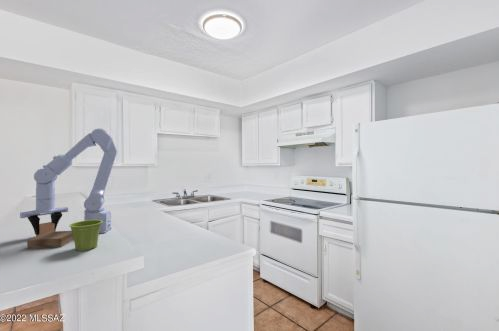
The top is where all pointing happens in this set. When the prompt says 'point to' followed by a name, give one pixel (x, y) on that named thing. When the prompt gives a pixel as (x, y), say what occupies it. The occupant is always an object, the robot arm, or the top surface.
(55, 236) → the walnut plinth
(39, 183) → the robot arm
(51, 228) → the terracotta block
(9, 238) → the top surface
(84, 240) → the plant pot
